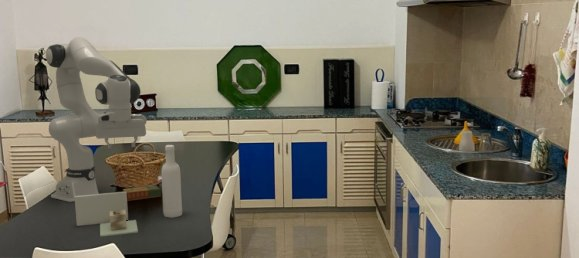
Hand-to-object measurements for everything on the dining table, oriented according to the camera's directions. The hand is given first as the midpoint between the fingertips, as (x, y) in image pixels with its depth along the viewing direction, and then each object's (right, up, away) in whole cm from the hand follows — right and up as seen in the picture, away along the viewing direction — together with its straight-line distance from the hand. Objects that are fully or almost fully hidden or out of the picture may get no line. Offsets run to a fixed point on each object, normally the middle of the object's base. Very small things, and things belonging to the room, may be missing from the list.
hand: (121, 147), depth 243 cm
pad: (+2, -32, -11) cm, 34 cm away
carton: (0, -25, +32) cm, 41 cm away
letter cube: (+2, -31, -12) cm, 33 cm away
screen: (-7, -31, -4) cm, 31 cm away
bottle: (+20, -29, +5) cm, 36 cm away
